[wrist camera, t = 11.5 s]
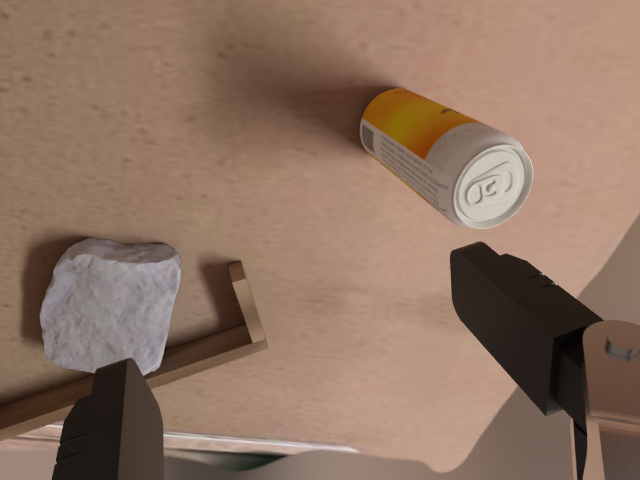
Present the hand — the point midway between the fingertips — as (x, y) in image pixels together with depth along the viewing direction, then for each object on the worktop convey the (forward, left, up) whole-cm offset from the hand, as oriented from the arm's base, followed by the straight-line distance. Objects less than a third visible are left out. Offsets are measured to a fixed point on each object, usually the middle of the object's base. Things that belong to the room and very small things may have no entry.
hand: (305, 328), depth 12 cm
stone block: (+14, -13, -29) cm, 34 cm away
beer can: (+6, +14, -28) cm, 32 cm away
